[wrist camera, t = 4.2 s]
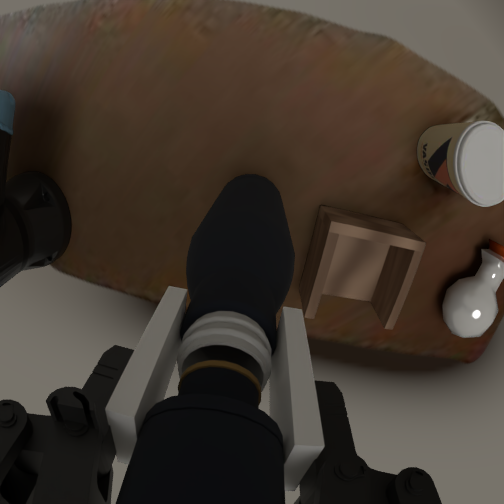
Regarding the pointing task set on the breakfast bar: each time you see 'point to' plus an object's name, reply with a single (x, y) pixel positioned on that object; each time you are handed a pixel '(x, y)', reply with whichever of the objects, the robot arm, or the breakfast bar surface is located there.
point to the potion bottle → (475, 296)
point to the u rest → (360, 262)
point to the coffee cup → (466, 159)
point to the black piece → (222, 363)
